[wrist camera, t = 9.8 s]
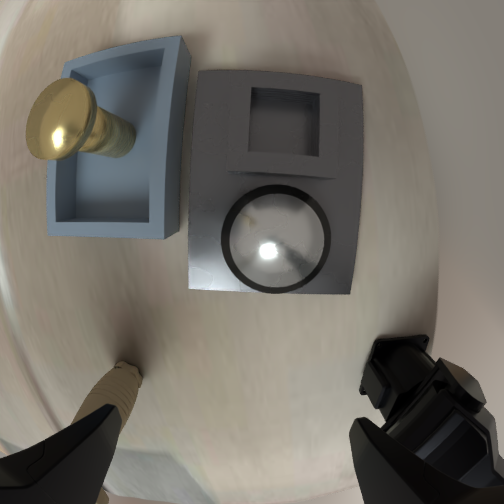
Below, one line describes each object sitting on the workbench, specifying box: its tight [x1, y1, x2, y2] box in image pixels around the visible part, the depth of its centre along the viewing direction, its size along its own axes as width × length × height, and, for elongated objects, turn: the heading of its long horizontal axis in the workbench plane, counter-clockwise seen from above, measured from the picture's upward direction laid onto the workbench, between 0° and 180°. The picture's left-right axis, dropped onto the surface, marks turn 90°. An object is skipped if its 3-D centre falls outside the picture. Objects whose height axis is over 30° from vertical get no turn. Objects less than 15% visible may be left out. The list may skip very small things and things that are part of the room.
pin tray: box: [47, 36, 191, 239], centre depth 16 cm, size 10×14×4 cm
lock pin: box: [26, 78, 136, 161], centre depth 13 cm, size 4×4×8 cm
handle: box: [71, 361, 143, 504], centre depth 15 cm, size 5×6×15 cm
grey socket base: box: [188, 70, 363, 294], centre depth 17 cm, size 12×16×4 cm
